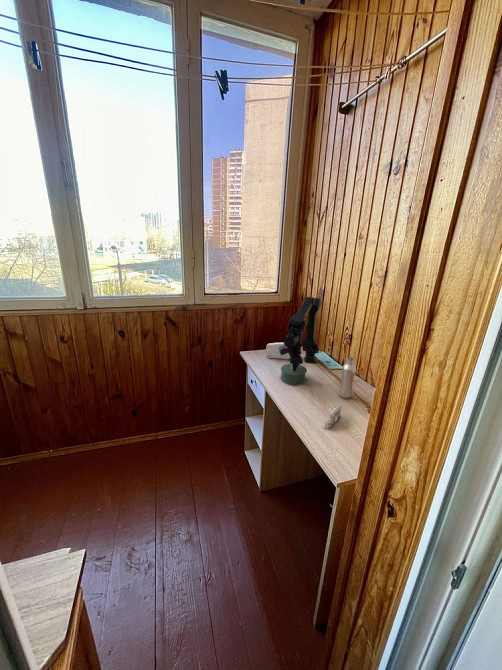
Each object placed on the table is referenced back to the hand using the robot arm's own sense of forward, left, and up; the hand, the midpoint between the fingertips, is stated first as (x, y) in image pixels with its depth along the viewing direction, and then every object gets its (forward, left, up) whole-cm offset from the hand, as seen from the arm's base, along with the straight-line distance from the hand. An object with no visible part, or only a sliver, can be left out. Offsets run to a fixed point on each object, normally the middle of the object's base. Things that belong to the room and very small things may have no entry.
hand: (293, 368), depth 155 cm
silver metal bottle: (+15, +24, -6) cm, 29 cm away
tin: (0, 0, -6) cm, 6 cm away
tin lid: (0, 0, -1) cm, 1 cm away
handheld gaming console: (-26, -7, -6) cm, 28 cm away
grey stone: (+36, +14, -6) cm, 39 cm away
